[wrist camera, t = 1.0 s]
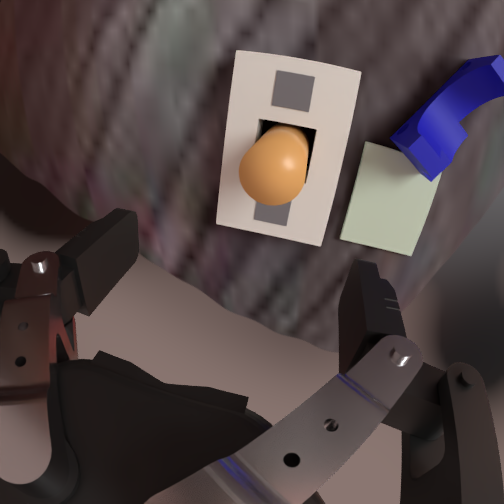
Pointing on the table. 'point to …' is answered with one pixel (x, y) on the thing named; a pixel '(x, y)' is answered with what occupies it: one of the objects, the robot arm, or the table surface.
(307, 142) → the plug
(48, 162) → the table surface
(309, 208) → the white slab with hole
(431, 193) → the mat
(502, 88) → the cable clip
